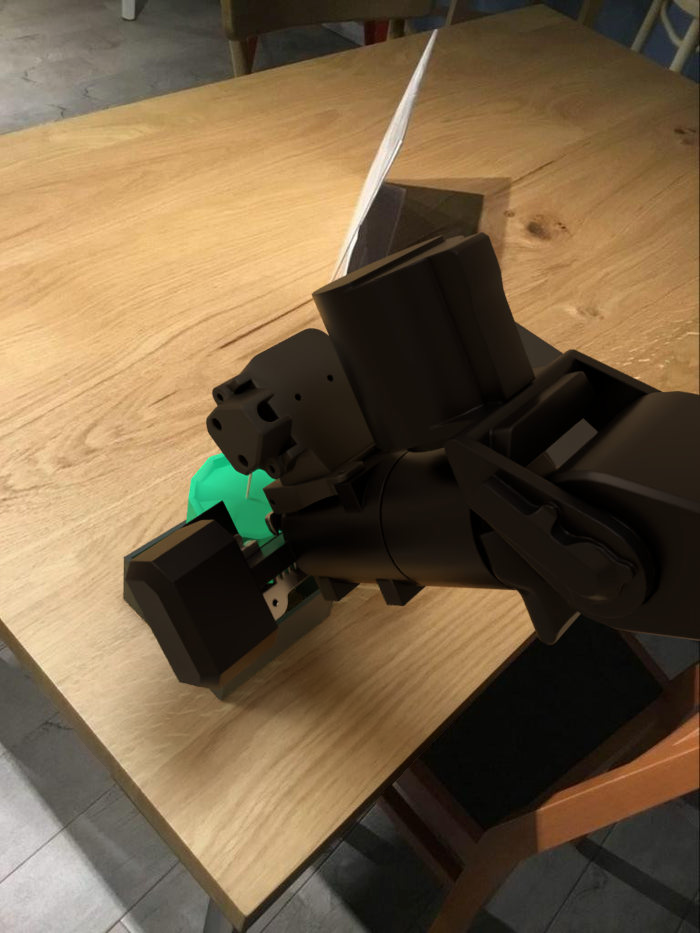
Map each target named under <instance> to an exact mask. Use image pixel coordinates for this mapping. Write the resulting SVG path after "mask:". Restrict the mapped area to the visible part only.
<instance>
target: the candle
mask: <svg viewBox="0 0 700 933" xmlns="http://www.w3.org/2000/svg"><path fill="white" fill-rule="evenodd" d="M273 481H275V479H272V478H271V477H269V475H268V474H267V473H266V472H265V471H264V470H260V469H258V470H256V471H254V472H253V473H251V474H250V475H248V476H246V475H243V474H241V473H239V472H237V471H236V470H235V469H234V468H233V467H232V465H231V464H230V463H229V461H228V460H227V458H226V457H225V456H224V454H223V453H222V452H220V453H217V454H214V455H211V456H209V457H208V458H207V459H206V460H205V462H204V463H203V464H202V465H201V467H200V468H198V470H197V471H196V472H195V474H194V475H193V476H191V478H190V485H189V489H188V495H187V496H188V498H187V509H186V519H185V520H186V523H188V522H189V521H191V520H192V519H194V518H195V517H197V516H199V515H200V514H202V513H203V512H205V511H206V510H208V509H209V508H211V507H212V506H214V505H216V504H217V503H219V502H220V501H222V500H223V502H224V504H225V506H226V508H227V510H228V512H229V514H230V516H231V518H232V520H233V522H234V524H235V526H236V528H237V530H238V533H239V534H240V535H241V536H242V538H243V543H245V542H246V541H248V540H256V541H257V542H258V544H259V547H260V546H262V545H263V544H265V543H266V542H267V541H269V540H270V539H271V538H273V537H274V536H276V535H273V534H272V533H271V532H270V531H269V529H268V527H267V525H266V523H265V516H266V515H267V514H268V513H270V512H271V511H272V508H271V506H270V504H269V502H268V500H267V498H266V496H265V493H264V491H263V488H264V487H266V486H267V485H269V484H270V483H272V482H273ZM280 532H281V531H279V533H280ZM269 583H273V580H271V581H270V582H269ZM277 620H278V619H277ZM277 620H276V621H277Z"/></svg>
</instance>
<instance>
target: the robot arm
mask: <svg viewBox="0 0 700 933" xmlns="http://www.w3.org/2000/svg"><path fill="white" fill-rule="evenodd" d="M310 295H311V297H312V299H313V302H314V304H315V306H316V310H317V311H318V314H319V316H320V319H321V320H322V323H323V326H324V328H325V329H326V332H325V331H323V330H322V329H319V328H315V327H308V328H305V329H303V330H300V331H298V332H297V333H294V334H293V335H291V336H289V337H287V338H285V339H284V340H281V341H280V342H277V343H276V344H274V345H272V346H270V347H269V348H266V349H265V350H263V351H261V352H259V353H257V354H255V355H254V356H253V357H252V358H251V359H250V360H249V362H248V363H247V364H246V365H245V367H244V368H243V369H242V370H241V371H240V372H239V374H237V375H235V376H233V377H231V378H229V379H227V380H226V381H224V382H222V383H220V384H219V385H216V386H214V387H213V388H212V390H211V396H212V398H213V401H214V403H215V404H216V407H214V409H213V410H212V411H211V412H210V413H209V414H208V415H207V417H206V419H205V425H206V431H207V433H208V435H209V436H210V438H211V440H213V442H214V444H215V445H216V446H217V448H218V449H219V450H220V451H221V453H223V454H224V456H225V457H226V458H227V460H228V461H229V463H230V464H231V465H232V467H233V468H234V469H235V470H236V471H237V472H239V473H241V474H243V475H246V476H248V475H250V474H251V473H253V472H254V471H256V470H258V469H260V470H264V471H265V472H266V473H267V474H268V475H269V477H271V478H272V479H275V481H273V482H272V483H270V484H269V485H267V486H266V487H264V488H263V491H264V493H265V496H266V498H267V500H268V502H269V504H270V506H271V508H272V511H271V512H270V513H268V514H267V515H266V516H265V523H266V525H267V527H268V529H269V531H270V532H271V533H272V534H273V535H276V536H274V537H273V538H271V539H270V540H269V541H267V542H266V543H265V544H263V545H262V546H260V547H259V544H258V542H257V541H256V540H248V541H246V542H245V543H243V538H242V536H241V535H240V534H239V533H238V530H237V528H236V526H235V524H234V522H233V520H232V518H231V516H230V514H229V512H228V510H227V508H226V506H225V504H224V502H223V500H222V501H220V502H219V503H217V504H216V505H214V506H212V507H211V508H209V509H208V510H206V511H205V512H203V513H202V514H200V515H199V516H197V517H195V518H194V519H192V520H191V521H189V522H188V523H186V524H185V525H183V526H182V527H181V528H180V529H179V530H177V531H175V532H174V533H172V534H171V535H169V536H168V537H166V538H164V539H163V540H161V541H160V542H158V543H157V544H155V545H154V546H152V547H151V548H149V549H148V550H146V551H144V552H143V553H141V554H140V555H138V556H137V557H135V558H134V559H132V560H131V561H130V562H129V566H128V570H127V574H126V578H125V581H126V583H127V585H128V587H129V589H130V590H131V592H132V594H133V596H134V598H135V600H136V602H137V604H138V606H139V607H140V609H141V611H142V613H143V615H144V617H145V619H146V621H147V622H148V624H149V625H148V624H147V625H148V626H149V628H150V630H151V632H152V634H153V636H154V637H155V640H156V642H157V643H158V645H159V647H160V649H161V651H162V653H163V654H164V657H165V658H166V660H167V662H168V664H169V666H170V668H171V669H172V672H173V673H174V675H175V677H176V679H177V681H178V683H179V684H180V683H181V684H184V685H189V686H193V687H197V688H201V689H208V690H210V689H213V690H219V689H220V688H222V687H223V686H224V685H225V684H227V683H228V682H229V681H230V680H231V679H233V678H234V677H235V676H236V675H237V674H239V673H240V672H241V671H242V670H243V669H245V668H246V667H247V666H248V665H250V664H251V663H252V662H253V661H254V660H256V659H257V658H258V657H259V656H260V655H262V654H263V653H264V652H265V651H267V650H268V649H269V648H270V647H271V646H273V645H274V644H275V641H276V637H277V633H278V629H279V627H278V625H277V623H276V620H277V619H279V618H281V617H282V616H283V615H285V614H286V611H287V609H288V604H289V600H288V598H289V597H288V596H289V594H290V592H291V591H292V590H295V587H296V586H298V585H299V584H300V583H302V582H303V581H304V580H305V579H307V578H308V577H309V576H310V575H313V577H314V579H315V581H316V583H317V585H318V587H319V590H320V592H321V594H322V596H323V598H324V600H325V601H334V602H338V603H339V602H340V601H342V600H343V599H345V597H346V596H348V595H349V594H350V593H351V592H352V591H354V590H355V589H356V588H358V586H360V585H361V584H371V585H377V586H378V589H379V591H380V593H381V595H382V597H383V599H384V602H385V604H386V606H393V607H394V606H395V607H405V606H406V605H407V604H408V603H409V602H410V601H411V600H412V599H414V598H415V597H416V596H417V595H418V594H419V593H420V592H422V590H424V589H425V588H426V587H435V588H458V589H475V590H477V589H479V590H499V591H516V592H517V593H518V594H519V595H520V597H521V600H522V601H523V604H524V606H525V609H526V611H527V613H528V616H529V618H530V621H531V624H532V627H533V629H534V631H535V633H536V636H537V638H538V639H539V641H540V642H541V643H543V644H545V645H547V646H551V645H554V644H555V643H556V642H557V641H558V640H559V639H560V638H561V637H562V636H563V635H564V633H565V632H566V631H567V630H568V629H569V628H570V627H571V625H573V623H574V622H575V621H576V620H577V619H578V617H579V616H581V615H582V616H583V617H585V618H587V619H591V620H592V621H595V622H597V623H600V624H602V625H604V626H607V627H609V628H612V629H614V630H619V631H624V632H629V633H638V634H643V635H644V634H645V635H653V636H660V637H667V638H676V639H684V640H690V641H697V642H698V641H699V642H700V394H699V393H694V392H689V391H683V390H682V391H681V390H672V391H662V390H661V389H659V388H656V387H654V386H652V385H650V384H648V383H645V382H643V381H641V380H639V379H637V378H635V377H633V376H631V375H629V374H627V373H625V372H623V371H621V370H618V369H617V368H614V367H612V366H610V365H608V364H606V363H604V362H602V361H600V360H598V359H596V358H594V357H592V356H590V355H587V354H586V353H583V352H581V351H579V350H577V349H573V348H570V349H568V350H566V351H564V352H562V353H563V354H562V355H561V356H559V357H558V358H557V359H555V360H554V361H553V362H551V363H550V364H549V365H547V366H543V367H538V368H532V367H531V364H530V361H529V359H528V356H527V353H526V350H525V348H524V345H523V342H522V339H521V337H520V334H519V331H518V329H517V326H516V323H515V322H516V320H515V318H514V315H513V312H512V310H511V306H510V304H509V301H508V298H507V296H506V292H505V289H504V282H503V275H502V270H501V266H500V263H499V259H498V257H497V254H496V252H495V249H494V246H493V244H492V240H491V238H490V235H488V234H487V233H485V232H483V231H480V232H477V233H474V234H472V235H469V236H466V237H465V235H462V234H461V235H457V236H453V237H450V238H446V237H445V235H444V234H441V235H439V236H435V237H433V238H430V239H427V240H425V241H423V242H419V243H417V244H414V245H412V246H409V247H407V248H404V249H402V250H400V251H397V252H395V253H392V254H390V255H388V256H385V257H383V258H380V259H378V260H376V261H374V262H372V263H369V264H367V265H365V266H362V267H361V268H358V269H356V270H354V271H352V272H349V273H347V274H346V275H343V276H341V277H339V278H337V279H335V280H333V281H331V282H329V283H327V284H325V285H323V286H321V287H320V288H318V289H315V291H313V292H311V294H310ZM582 419H584V420H585V421H586V422H588V423H589V424H590V425H591V426H592V427H593V428H594V429H595V430H596V431H597V432H598V433H597V434H596V435H594V436H593V437H592V438H591V439H590V440H589V441H588V442H587V443H586V444H584V445H583V446H582V447H581V448H580V449H579V450H578V451H577V452H576V453H574V454H573V455H572V456H571V457H570V458H569V459H568V460H567V461H566V462H565V463H563V464H562V465H561V466H556V465H555V463H554V461H553V460H552V458H551V457H550V455H549V454H548V453H547V451H546V450H547V449H548V448H550V447H551V446H552V445H553V444H554V443H555V442H557V441H558V440H559V439H560V438H561V437H562V436H564V435H565V434H566V433H567V432H568V431H569V430H570V429H572V428H573V427H574V426H575V425H576V424H577V423H579V422H580V421H581V420H582ZM279 531H281V532H280V533H279ZM271 580H273V583H269V582H270V581H271Z"/></svg>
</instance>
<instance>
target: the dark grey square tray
mask: <svg viewBox="0 0 700 933" xmlns="http://www.w3.org/2000/svg"><path fill="white" fill-rule="evenodd" d="M185 524H186V519H184V520H182V521H181V522H179V523H177V524H176V525H174V526H173V527H171V528H169V529H168V530H166V531H165V532H162V533H161V534H159V535H158V536H156V537H155V538H153V539H151V540H149V541H147V542H146V543H144V544H143V545H141V546H140V547H137V548H136V549H135V550H133V551H131V552H130V553H128V554H126V555H125V556H123V574H122V576H123V580H122V581H123V582H122V584H123V586H122V588H123V589H122V590H123V591H122V598H123V600H124V601H125V602H126V603H127V604H128V605H129V606H130V607H131V608H132V609H133V610H134V611H135V612H136V613H137V615H139V617H140V618H141V619H142V620H143V621H144V622H145V623H146V624H147V625H148V626H149V624H148V622H147V621H146V619H145V617H144V615H143V613H142V611H141V609H140V607H139V606H138V604H137V602H136V600H135V598H134V596H133V594H132V592H131V590H130V589H129V587H128V585H127V583H126V581H125V578H126V574H127V570H128V566H129V562H130V561H131V560H132V559H134V558H135V557H137V556H138V555H140V554H141V553H143V552H144V551H146V550H148V549H149V548H151V547H152V546H154V545H155V544H157V543H158V542H160V541H161V540H163V539H164V538H166V537H168V536H169V535H171V534H172V533H174V532H175V531H177V530H179V529H180V528H181V527H182V526H183V525H185ZM294 590H296V592H298V593H299V595H301V596H302V597H303V598H304V599H303V600H301V601H300V602H299V603H298V604H297V605H295V606H294V607H292V608H291V609H290V610H289V611H287V612H285V613H284V614H283V615H282V616H281V617H280V618H279V619H278V620H277V621H276V623H277V625H278V627H279V629H278V633H277V637H276V641H275V644H274V645H273V646H271V647H270V648H269V649H268V650H267V651H265V652H264V653H263V654H262V655H260V656H259V657H258V658H257V659H256V660H254V661H253V662H252V663H251V664H250V665H248V666H247V667H246V668H245V669H243V670H242V671H241V672H240V673H239V674H237V675H236V676H235V677H234V678H233V679H231V680H230V681H229V682H228V683H227V684H225V685H224V686H223V687H222V688H220V689H219V690H213V689H209V691H210V692H211V693H212V694H213V695H214V696H215V697H216V698H217V700H219V701H220V702H222V701H223V700H225V698H227V697H228V696H230V695H231V694H232V693H233V692H235V691H236V690H237V689H239V688H240V687H241V686H242V685H244V684H245V683H246V682H247V681H249V680H250V679H251V678H252V677H254V676H255V675H256V674H258V673H259V672H260V671H261V670H262V669H264V668H265V667H266V666H268V665H269V664H270V663H271V662H273V661H274V660H275V659H277V658H278V657H280V656H281V655H282V654H283V653H284V652H286V651H287V650H288V649H290V648H291V647H292V646H293V645H295V644H296V643H297V642H299V641H300V640H301V639H302V638H304V637H305V636H306V635H307V634H309V633H310V632H311V631H312V630H313V629H315V628H317V627H318V626H319V625H320V624H321V623H323V622H324V621H325V620H327V619H328V618H329V617H330V615H331V613H332V609H333V607H334V604H335V601H325V600H324V598H323V596H322V594H321V592H320V590H319V587H318V585H317V583H316V581H315V579H314V577H313V575H310V576H309V577H308V578H307V579H305V580H304V581H303V582H302V583H300V584H299V585H298V586H296V587H295V588H294Z"/></svg>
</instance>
